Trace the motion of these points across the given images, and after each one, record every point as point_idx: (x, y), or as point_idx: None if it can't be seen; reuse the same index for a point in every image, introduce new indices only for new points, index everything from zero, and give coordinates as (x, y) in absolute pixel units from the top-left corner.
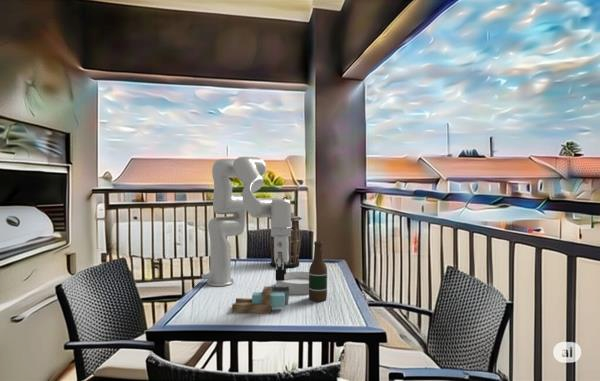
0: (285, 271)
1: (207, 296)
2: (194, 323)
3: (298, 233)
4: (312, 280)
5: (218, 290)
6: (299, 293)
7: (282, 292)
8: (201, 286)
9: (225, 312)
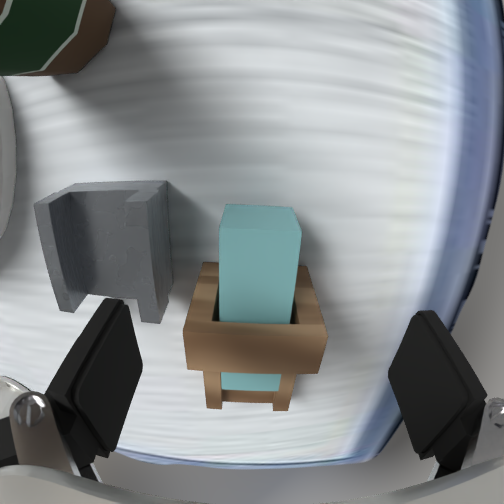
0: (114, 325)
1: (135, 435)
2: (356, 430)
3: None
4: (28, 30)
5: None
6: (12, 140)
7: (150, 238)
8: None
9: None
